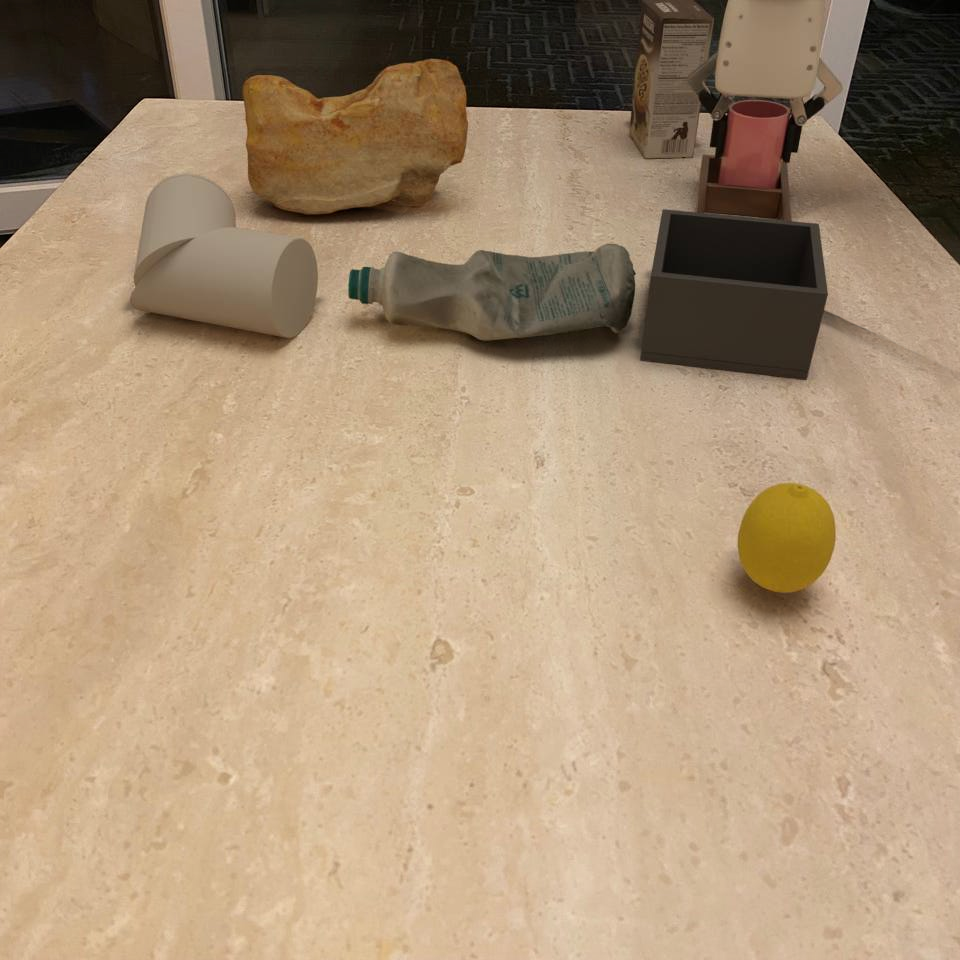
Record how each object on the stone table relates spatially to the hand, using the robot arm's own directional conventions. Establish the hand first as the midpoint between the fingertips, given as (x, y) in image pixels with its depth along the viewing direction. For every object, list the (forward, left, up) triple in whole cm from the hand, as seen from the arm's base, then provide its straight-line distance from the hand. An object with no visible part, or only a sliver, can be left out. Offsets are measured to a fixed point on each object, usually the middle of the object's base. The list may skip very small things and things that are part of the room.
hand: (752, 154), depth 109 cm
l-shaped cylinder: (+57, -14, -5) cm, 59 cm away
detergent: (+40, +5, -5) cm, 41 cm away
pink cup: (0, 0, -4) cm, 4 cm away
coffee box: (-5, -18, -5) cm, 19 cm away
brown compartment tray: (+4, +2, -5) cm, 7 cm away
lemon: (+47, +42, -5) cm, 64 cm away
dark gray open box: (+25, +19, -5) cm, 31 cm away
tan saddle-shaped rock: (+33, -27, -5) cm, 43 cm away
